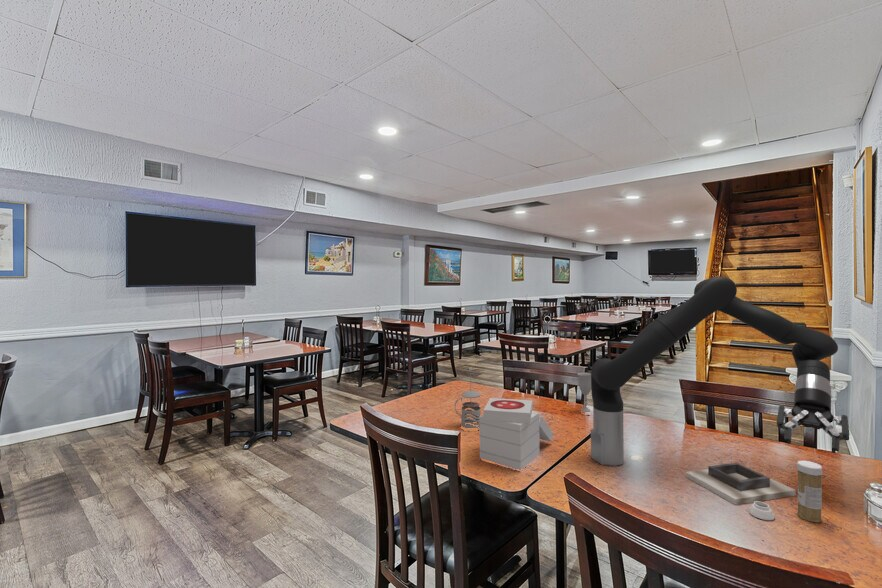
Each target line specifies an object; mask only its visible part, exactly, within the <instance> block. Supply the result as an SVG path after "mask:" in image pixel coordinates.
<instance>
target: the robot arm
mask: <svg viewBox="0 0 882 588" xmlns="http://www.w3.org/2000/svg"><path fill="white" fill-rule="evenodd" d="M736 284H737V283H735V282H734V281H733V280H732V279H731V278H728V277H727V276H726V277H724V276H714V277H710V278H707V279H703V280H701V281H699V282H698V283H697V284H696V285H695V287H694V291H693V295H692V296H691V297H690V298H688V299H687V300H686V301H684V302H683V303H681V304H680V305H678V306H676V307H674V308H672V309H669V310H668V311H666V312H665V313H663V314H661V315H659V316H658V317H657V318H655V319H654V320H653V321H651V322H650V323H649V324H648V325H646V326H645V327H643V329H642V330H641V331H640V332H639V333H638V334H637V336H635V338H634V340H633V341H632V342H631V344H630V345H629V346H628V348H626V350H624V351H623V352H622V353H620V354H618V356H616V357H615V358H613V359H610V358H605V357H603V358H600V359H597V360H596V361H595V362H594V363H593V364H592V366H591V370H590V371H591V372H590V373H591V390H590V392H591V397H592V398H591V399H592V406H593V407H592V408H593V410H592V412H593V413H592V414H593V415H592V419H593V421H592V422H593V423H592V424H593V425H592V426H593V428H592V429H590V458H591V459H593V460H594V461H596V462H597V463H598V464H600V465H601V466H603V465H604V466H615V467H616V466H620V465H623V464H624V463H625V461H624V460H625V457H624V456H625V455H624V452H625V451H624V450H625V447H624V444H625V443H624V400H623V398H622V394H621V388H622V387H623V386H624V385H626V384H627V382H629V381H630V380H631V379H632V378H633V377H634V376H635V375H636V374H637V373H638V372H639V371H640V370H641V369H642V368H644V367H645V366H646V365H647V364H649V363H650V362H652V361H653V360H655V359H656V358H657V357H659V356H660V355H661V354H663V353H664V352H665V351H667V350H669V348H671V347H672V346H674V345H675V344H676V343H677V342H679V341H680V340H681V339H683V337H685V336H686V335H687V334H688V333H689V332H690V331H692V330H693V329H694V328H696V326H697V325H699V324H700V323H701V322H702V321H703V320H705V319H706V318H708V317H709V316H710V315H713V314H714V313H715V312H717V311H718V312H721V313H723V314H725V315H728V316H730V317H732V318H734V319H736V320H738V321H740V322H742V323H743V324H746V325H748V326H750V327H751V328H753V329H755V330H756V331H759V332H760V333H761V334H764V335H765V336H766V337H769V338H770V339H772V340H773V341H776V342H778V343H779V344H782V345H792V344H793V346H792V348H791V354H792V358H793V360H794V363H795V366H796V368H797V370H796V381H795V384H794V399H793V400H794V402H793V407H792V408H787V407H785V406H784V405H779V406H778V412H777V416H776V417H777V418H776V426H777V428H778V429H782V430H784V433H783V439H784V441H785V442H787V444H788V445H792V437H793V432H792V431H793V430H795V429H798V428H800V427H802V426H803V427H804V428H812V429H815V430H820V429H822V430H823V431H824V432H825V433H826V434H827V435H829V436H830V437H831V453H833V454H836V452H839V451H840V441H842V440H843V441H849V440H850V428H849V420H848V419H849V418H848V416H847V415H846V414H842V415H834V414H833V413H832V386H831V371H830V370H831V369H830V366H829V365H828V364H827V363H826V362H823V361H822V360H823V359H826V358H830V357H831V356H834V355H835V354H836V353H837V352H838V351H839V345H838V343H837V341H836V340H835V339H834V338H833V337H832V336H830V335H828V334H827V333H824V332H822V331H819V330H817V329H813V328H810V327H806V326H803V325H798V324H797V323H794V322H792V321H791V320H789V319H787V318H785V317H783V316H782V315H779V314H777V313H775V312H773V311H771V310H769V309H766V308H764V307H760V306H758V305H754V304H752V303H750V302H748V301H746V300H744V299H742V298H740V297H738V296H736V295H737V293H738V289H737V285H736ZM790 414H791V415H792V416H793V417H792V418H791V419H790V420H789V421H788V422H784V420H785V417H788V416H789V415H790ZM833 421H834V422H836V424H837V425H839V426H841V432H838V431H837V429H835V428H834V425H832V422H833Z"/></svg>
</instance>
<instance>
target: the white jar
mask: <svg viewBox="0 0 882 588" xmlns="http://www.w3.org/2000/svg"><path fill="white" fill-rule="evenodd" d="M748 513H749V514H750V515H751V516H753V517H755V518H757V519H760V520H763V521H773V520H775V518H776V515H775V514H774V512H773V510H772V508H770V505H769V504H768V503H766V502H764V501H755V502H753V503H752V504H751V505H750V507H749V508H748Z"/></svg>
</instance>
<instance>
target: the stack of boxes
mask: <svg viewBox="0 0 882 588" xmlns="http://www.w3.org/2000/svg"><path fill="white" fill-rule="evenodd" d="M482 411H483V413H482V415H481V414H480V416H479V415H478V416H479V430H480V431H479V459H480V458H482V459H486V460H489V461H492V462H495V463H498V464H501V465H505V466H508V467H512V468H515V469H519V470H521V469H523V468H524V467H525V466H526V465H527V464H529V463H530V462H531V461H532V460H534V459H535V458H536V457H537V456H539V455H540V440H543V441H547V442H553V437H554V432H553V431H552V429H551V428H550V426H549V424H548V423H547V422H546V421H545V419H544V418H543V416H542V415H540V412H536V411H533V400H530V399H516V398H513V399H512V398H496V397H490V398H489V400H488V401H487V403H486V405H485V406H484V408H483V409H482ZM539 457H540V456H539ZM534 461H535V460H534Z"/></svg>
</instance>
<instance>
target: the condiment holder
mask: <svg viewBox="0 0 882 588" xmlns="http://www.w3.org/2000/svg"><path fill="white" fill-rule="evenodd" d="M685 477H686V479H688V480H691V481H692V482H694V483H696V484H698V485H699V486H701V487H703V488H704V489H707V490H708V491H710V492H712V493H713V494H715V495H717V496H719V497H720V498H722V499H724V500H726V501H728V502H729V503H731V504H733V505H735V506H738V505H745V504H751V503H754V502H755V501H760V502H764V501H769V500H776V499H782V498H789V497H794V496H795V497H796V496H797V494H796V491H797V490H796V489H794V488H792V487H790V486H788V485H785V484H783V483H782V482H778V481H777V480H774V479H772V478H770V477H768V476H766V475H764V474H762V473H760V472H758V471H756V470H754V469H751V468H749V467H747V466H744V465H742V464H740V463H737V462H732V463H724V464H715V465H708V467H707V469H698V470H691V471H685Z"/></svg>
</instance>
